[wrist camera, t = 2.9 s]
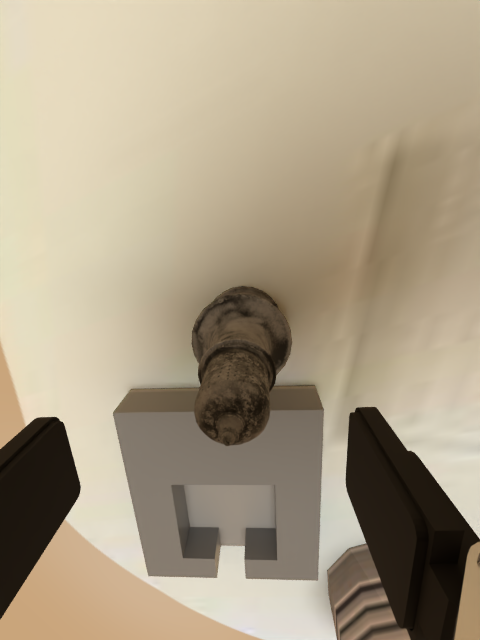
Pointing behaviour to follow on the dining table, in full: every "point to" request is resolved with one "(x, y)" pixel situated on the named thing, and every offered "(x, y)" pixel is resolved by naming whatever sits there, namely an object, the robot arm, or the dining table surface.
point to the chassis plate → (224, 485)
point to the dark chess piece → (238, 363)
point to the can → (360, 599)
